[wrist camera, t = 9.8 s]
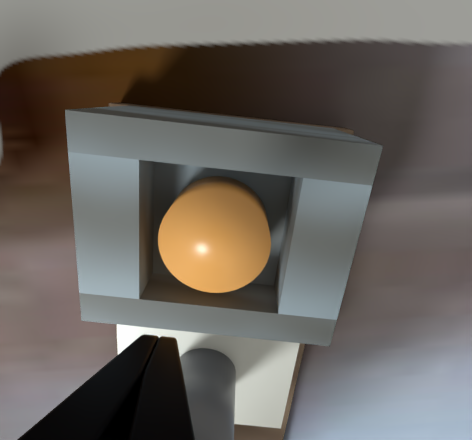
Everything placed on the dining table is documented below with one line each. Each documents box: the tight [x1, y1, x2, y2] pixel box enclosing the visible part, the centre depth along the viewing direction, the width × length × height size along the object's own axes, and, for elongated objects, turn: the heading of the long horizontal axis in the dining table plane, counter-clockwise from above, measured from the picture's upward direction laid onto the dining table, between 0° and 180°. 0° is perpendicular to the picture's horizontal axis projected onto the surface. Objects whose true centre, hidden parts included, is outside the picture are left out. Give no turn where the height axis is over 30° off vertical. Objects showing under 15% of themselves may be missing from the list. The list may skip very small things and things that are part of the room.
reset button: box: [158, 176, 271, 293], centre depth 12 cm, size 4×4×2 cm
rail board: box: [65, 103, 383, 440], centre depth 19 cm, size 30×12×8 cm, turn 174°
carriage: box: [117, 324, 300, 440], centre depth 15 cm, size 7×9×7 cm
